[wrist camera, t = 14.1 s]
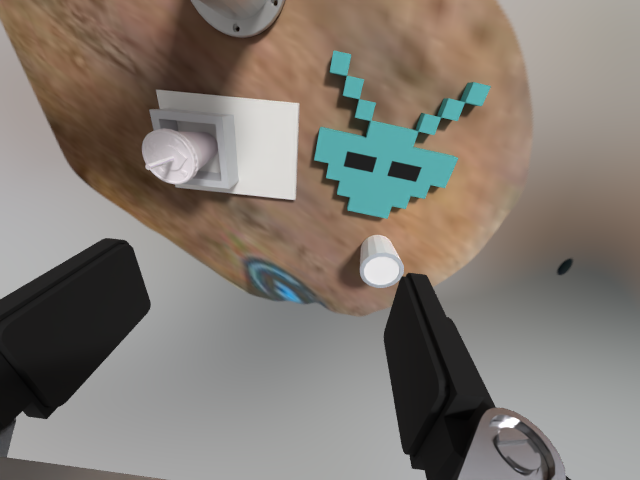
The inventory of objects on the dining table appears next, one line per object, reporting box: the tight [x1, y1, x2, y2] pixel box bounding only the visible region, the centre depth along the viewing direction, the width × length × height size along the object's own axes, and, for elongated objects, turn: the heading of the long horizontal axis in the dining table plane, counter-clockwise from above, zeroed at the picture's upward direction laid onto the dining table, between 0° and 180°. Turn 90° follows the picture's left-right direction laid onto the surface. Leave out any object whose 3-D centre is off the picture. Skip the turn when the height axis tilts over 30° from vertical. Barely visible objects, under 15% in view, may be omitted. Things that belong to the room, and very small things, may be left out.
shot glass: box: [360, 235, 404, 288], centre depth 43 cm, size 7×7×7 cm
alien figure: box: [314, 51, 491, 219], centre depth 37 cm, size 20×2×20 cm
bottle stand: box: [149, 90, 300, 200], centre depth 37 cm, size 14×20×5 cm
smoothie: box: [142, 128, 218, 184], centre depth 32 cm, size 6×6×14 cm
